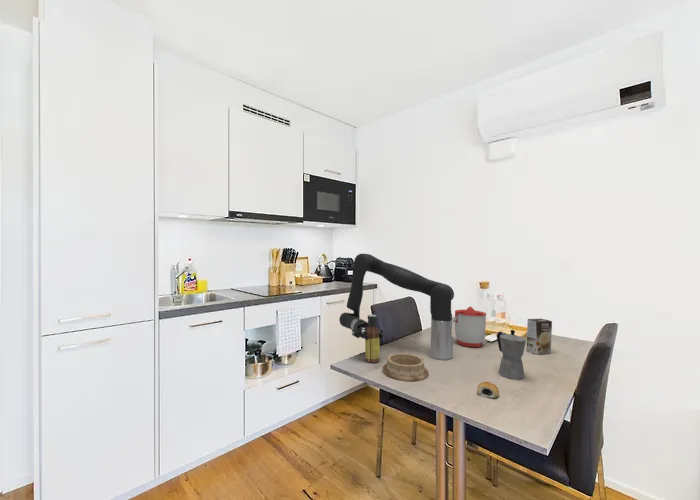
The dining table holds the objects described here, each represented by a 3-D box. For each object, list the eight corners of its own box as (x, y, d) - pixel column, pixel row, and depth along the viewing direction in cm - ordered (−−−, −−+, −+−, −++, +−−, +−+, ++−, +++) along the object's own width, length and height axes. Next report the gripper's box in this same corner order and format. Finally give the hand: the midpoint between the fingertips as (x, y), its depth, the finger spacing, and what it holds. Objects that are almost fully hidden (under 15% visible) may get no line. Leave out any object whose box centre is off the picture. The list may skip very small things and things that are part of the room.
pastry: (479, 385, 116) (480, 375, 116) (500, 390, 112) (500, 379, 112) (476, 395, 108) (476, 384, 108) (498, 401, 104) (498, 389, 104)
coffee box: (537, 355, 152) (538, 321, 152) (525, 351, 158) (526, 318, 158) (551, 353, 155) (552, 320, 155) (539, 349, 161) (540, 318, 161)
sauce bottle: (380, 359, 140) (382, 314, 140) (377, 364, 134) (378, 317, 134) (366, 357, 142) (368, 313, 142) (362, 362, 136) (364, 315, 136)
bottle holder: (413, 362, 138) (413, 350, 138) (437, 378, 121) (438, 365, 121) (375, 366, 132) (375, 354, 132) (395, 383, 115) (395, 370, 115)
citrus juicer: (448, 339, 176) (449, 303, 175) (480, 341, 173) (482, 304, 173) (453, 347, 160) (454, 308, 160) (489, 350, 158) (490, 310, 158)
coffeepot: (534, 381, 121) (535, 334, 121) (513, 382, 119) (514, 334, 118) (506, 366, 136) (507, 324, 136) (486, 367, 134) (488, 325, 134)
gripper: (346, 320, 149) (359, 329, 133) (374, 319, 154) (390, 327, 138) (346, 336, 149) (358, 347, 133) (374, 334, 154) (389, 344, 138)
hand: (374, 337), depth 136 cm, fingers closed on sauce bottle, 6 cm apart
